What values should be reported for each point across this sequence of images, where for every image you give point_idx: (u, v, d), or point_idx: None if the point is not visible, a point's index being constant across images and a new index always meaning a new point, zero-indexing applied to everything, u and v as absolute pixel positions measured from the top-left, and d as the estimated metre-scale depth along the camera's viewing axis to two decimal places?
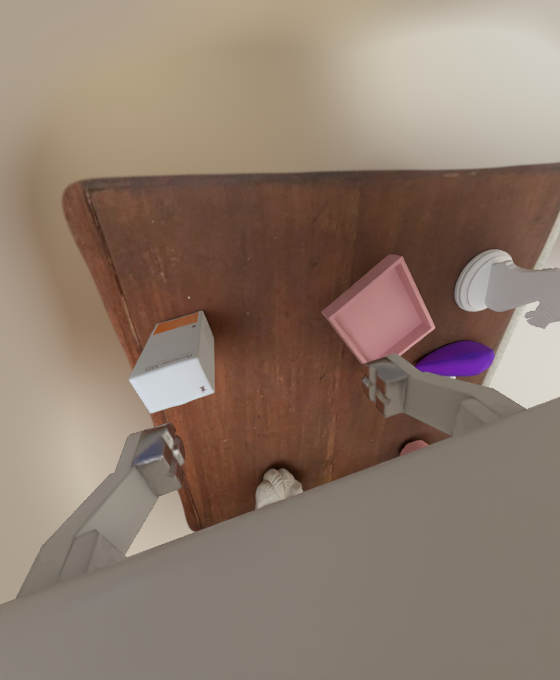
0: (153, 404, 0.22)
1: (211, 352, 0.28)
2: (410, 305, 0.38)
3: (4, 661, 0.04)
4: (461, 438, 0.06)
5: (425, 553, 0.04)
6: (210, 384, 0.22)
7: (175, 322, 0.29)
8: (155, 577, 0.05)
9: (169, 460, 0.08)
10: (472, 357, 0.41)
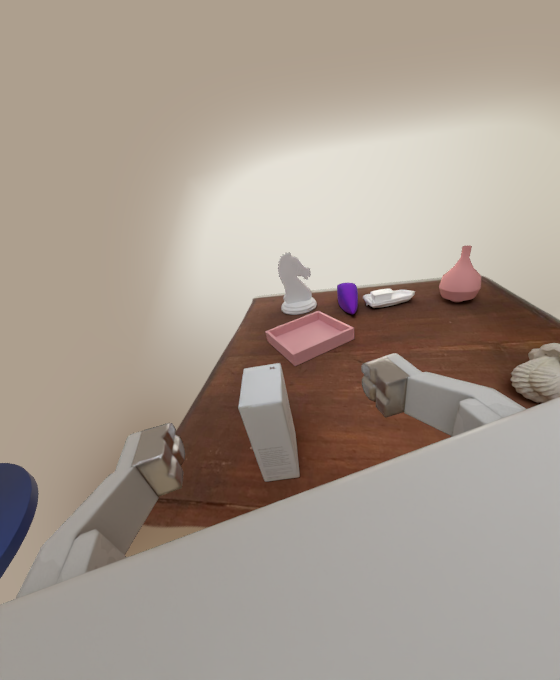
0: (271, 396, 0.23)
1: None
2: (304, 326, 0.58)
3: (4, 661, 0.04)
4: (461, 438, 0.06)
5: (425, 553, 0.04)
6: (271, 364, 0.27)
7: None
8: (155, 577, 0.05)
9: (169, 460, 0.08)
10: (340, 290, 0.63)
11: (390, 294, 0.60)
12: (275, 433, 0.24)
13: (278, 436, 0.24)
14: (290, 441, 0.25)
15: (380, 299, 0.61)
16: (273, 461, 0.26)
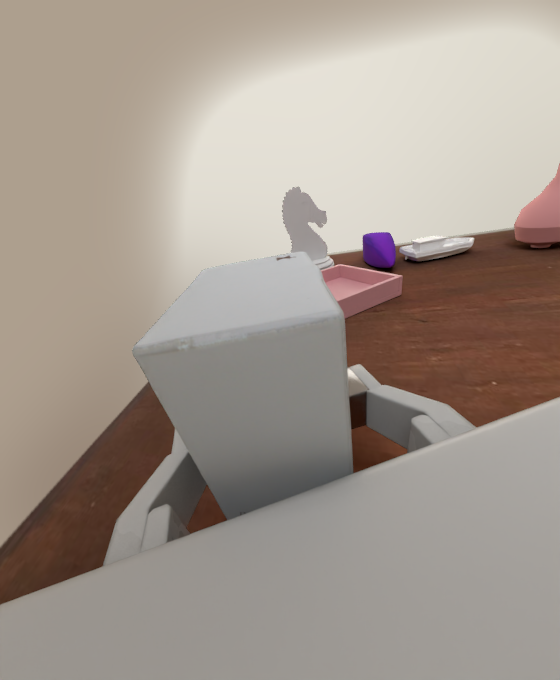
0: (288, 303, 0.05)
1: None
2: None
3: (4, 661, 0.04)
4: (461, 438, 0.06)
5: (424, 552, 0.04)
6: None
7: None
8: (155, 577, 0.05)
9: None
10: (369, 239, 0.46)
11: (442, 241, 0.42)
12: (299, 465, 0.06)
13: (312, 471, 0.07)
14: None
15: (427, 248, 0.43)
16: None
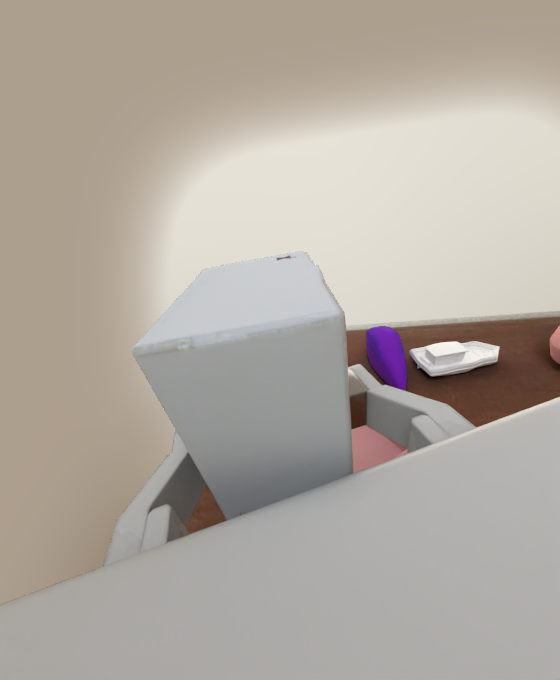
0: (289, 303, 0.05)
1: None
2: None
3: (4, 661, 0.04)
4: (461, 438, 0.06)
5: (425, 553, 0.04)
6: None
7: None
8: (155, 577, 0.05)
9: None
10: (374, 342, 0.39)
11: (462, 354, 0.35)
12: (299, 465, 0.06)
13: (312, 472, 0.07)
14: None
15: (444, 362, 0.36)
16: None
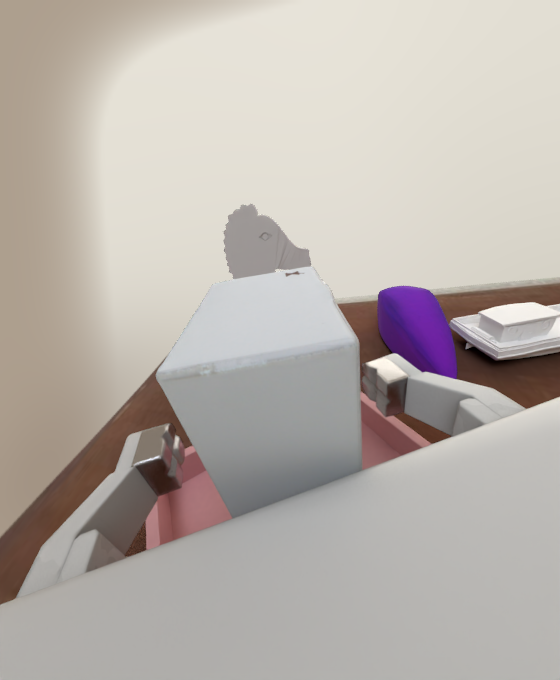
0: (304, 328, 0.05)
1: None
2: None
3: (4, 661, 0.04)
4: (461, 438, 0.06)
5: (425, 553, 0.04)
6: (287, 271, 0.10)
7: None
8: (155, 577, 0.05)
9: (169, 460, 0.08)
10: (392, 306, 0.23)
11: (550, 321, 0.20)
12: (311, 479, 0.07)
13: None
14: None
15: (517, 335, 0.20)
16: None
